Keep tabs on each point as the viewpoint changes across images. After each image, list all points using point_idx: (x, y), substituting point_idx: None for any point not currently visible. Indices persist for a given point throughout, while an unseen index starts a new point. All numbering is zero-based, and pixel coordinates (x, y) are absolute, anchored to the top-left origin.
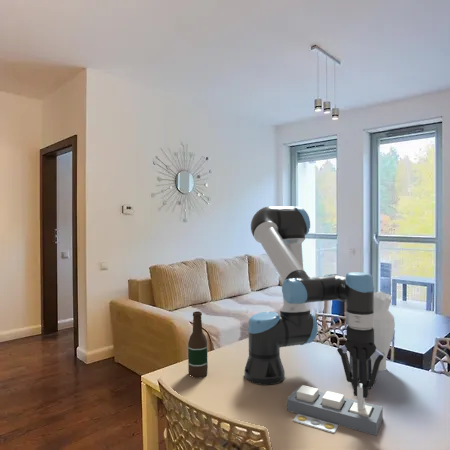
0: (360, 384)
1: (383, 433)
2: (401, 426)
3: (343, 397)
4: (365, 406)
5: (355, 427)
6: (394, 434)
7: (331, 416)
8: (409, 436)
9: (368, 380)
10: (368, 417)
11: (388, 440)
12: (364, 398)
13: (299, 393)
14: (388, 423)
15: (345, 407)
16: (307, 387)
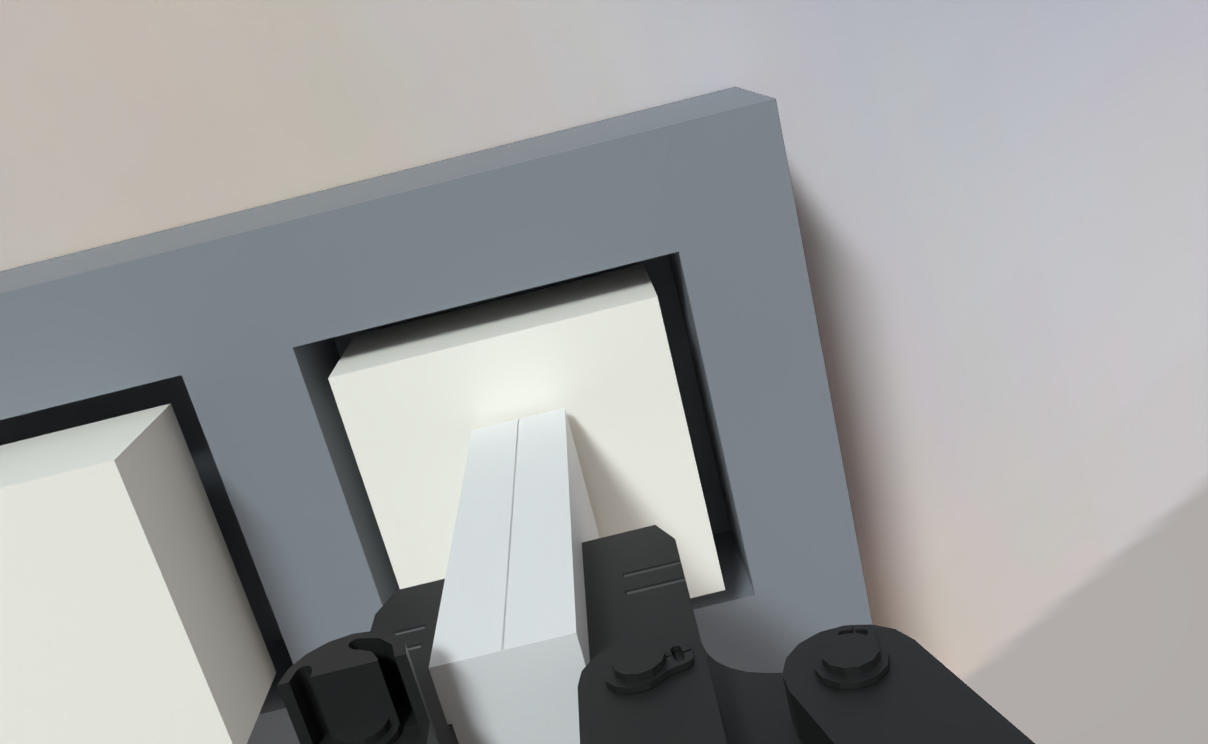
0: (504, 729)
1: (880, 457)
2: (1027, 104)
3: (148, 505)
4: (561, 374)
5: None
6: (1000, 379)
7: None
8: (1172, 286)
9: (719, 712)
10: (733, 609)
11: (977, 555)
12: (575, 495)
13: None
14: (850, 160)
15: (306, 582)
16: None
